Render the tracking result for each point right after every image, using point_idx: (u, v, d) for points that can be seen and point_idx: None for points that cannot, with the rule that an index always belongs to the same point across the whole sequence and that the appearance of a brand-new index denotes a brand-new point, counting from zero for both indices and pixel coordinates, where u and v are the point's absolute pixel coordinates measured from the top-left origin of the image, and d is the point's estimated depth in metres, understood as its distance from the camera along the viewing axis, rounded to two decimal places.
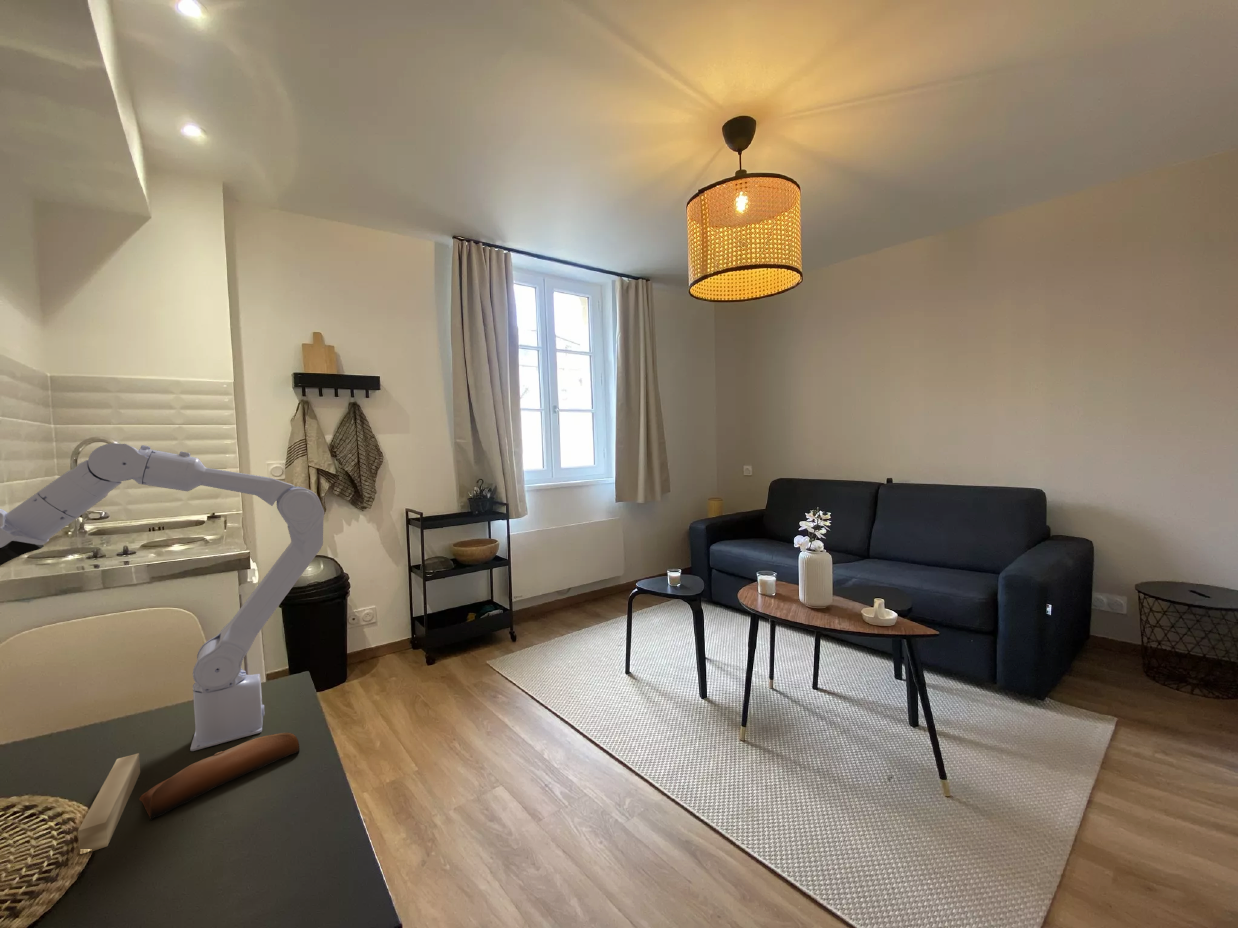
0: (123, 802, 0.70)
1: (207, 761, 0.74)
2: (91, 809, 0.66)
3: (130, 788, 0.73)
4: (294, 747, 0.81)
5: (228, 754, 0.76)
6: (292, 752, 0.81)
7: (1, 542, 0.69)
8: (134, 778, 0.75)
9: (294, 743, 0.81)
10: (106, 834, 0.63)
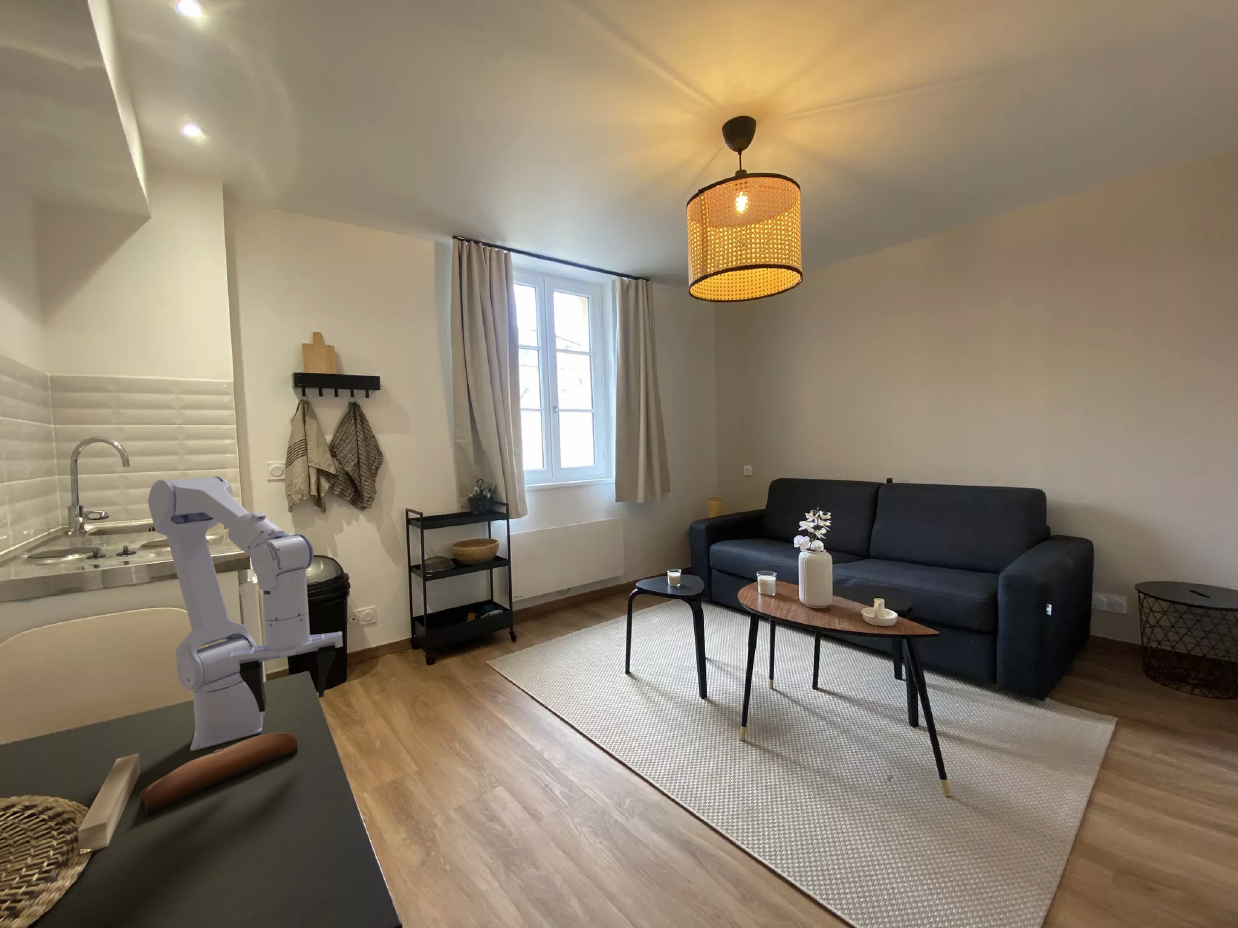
0: (123, 802, 0.70)
1: (205, 758, 0.75)
2: (91, 809, 0.66)
3: (130, 788, 0.73)
4: (292, 746, 0.81)
5: (226, 752, 0.76)
6: (290, 751, 0.81)
7: None
8: (134, 778, 0.75)
9: (292, 742, 0.81)
10: (106, 834, 0.63)
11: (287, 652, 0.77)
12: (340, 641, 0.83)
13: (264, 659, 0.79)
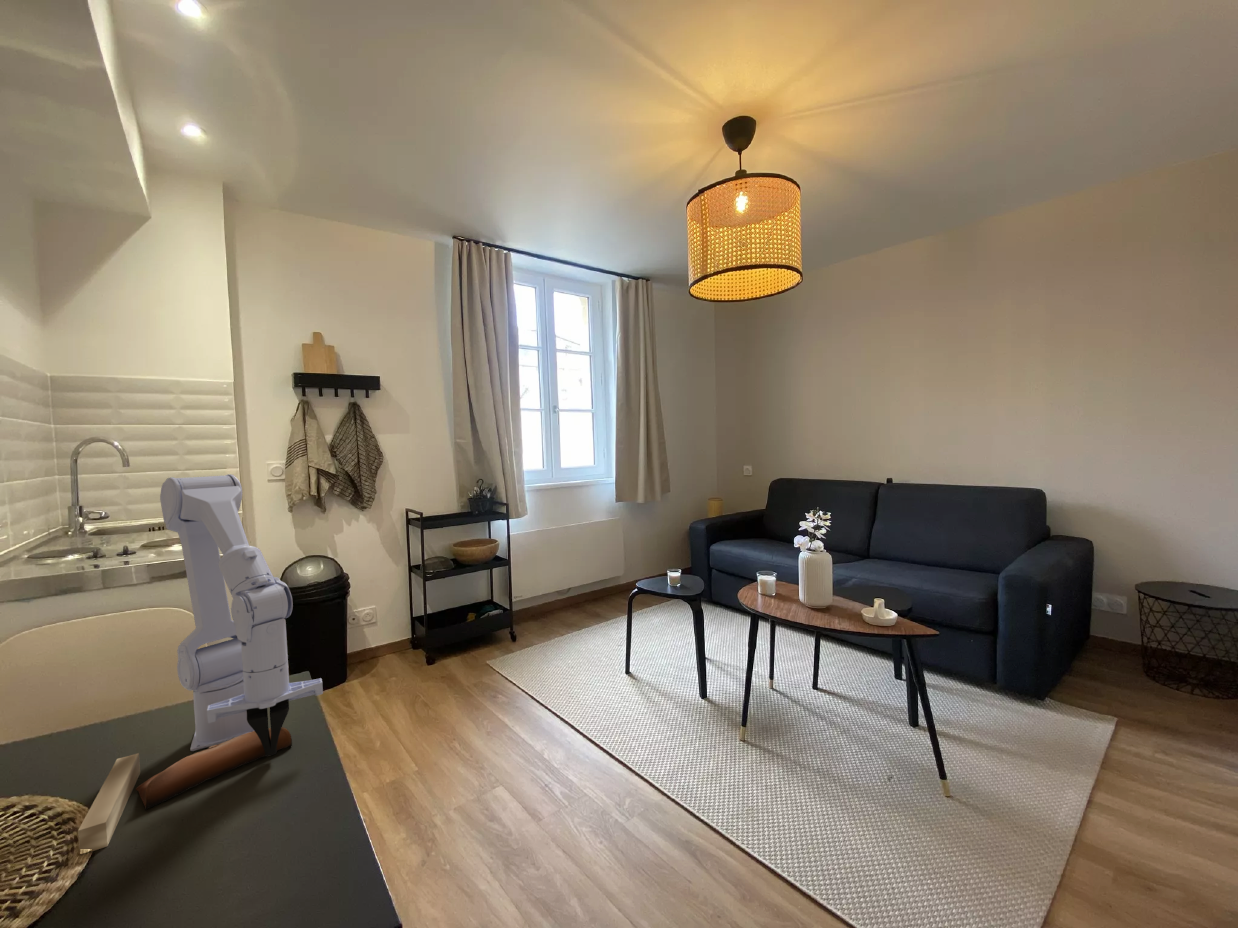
0: (123, 802, 0.70)
1: (201, 754, 0.76)
2: (91, 809, 0.66)
3: (130, 788, 0.73)
4: (286, 741, 0.83)
5: (222, 747, 0.78)
6: (285, 745, 0.83)
7: None
8: (134, 778, 0.75)
9: (287, 737, 0.83)
10: (106, 834, 0.63)
11: (267, 704, 0.76)
12: (320, 689, 0.83)
13: (242, 711, 0.78)
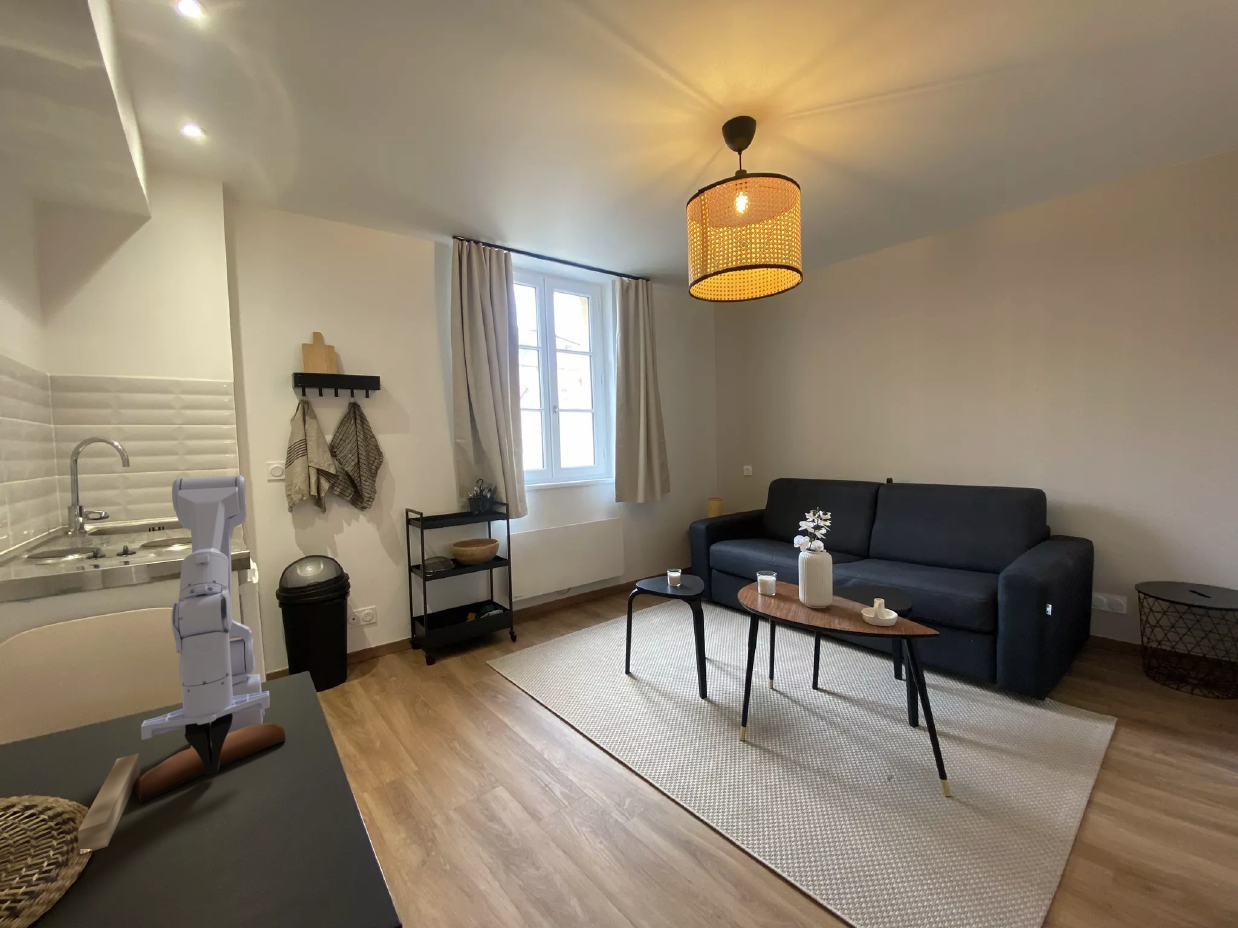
0: (123, 802, 0.70)
1: None
2: (91, 809, 0.66)
3: (130, 788, 0.73)
4: (280, 737, 0.84)
5: None
6: (278, 741, 0.84)
7: (269, 699, 0.80)
8: (134, 778, 0.75)
9: (280, 733, 0.84)
10: (106, 834, 0.63)
11: (206, 720, 0.72)
12: (267, 702, 0.79)
13: (181, 726, 0.74)
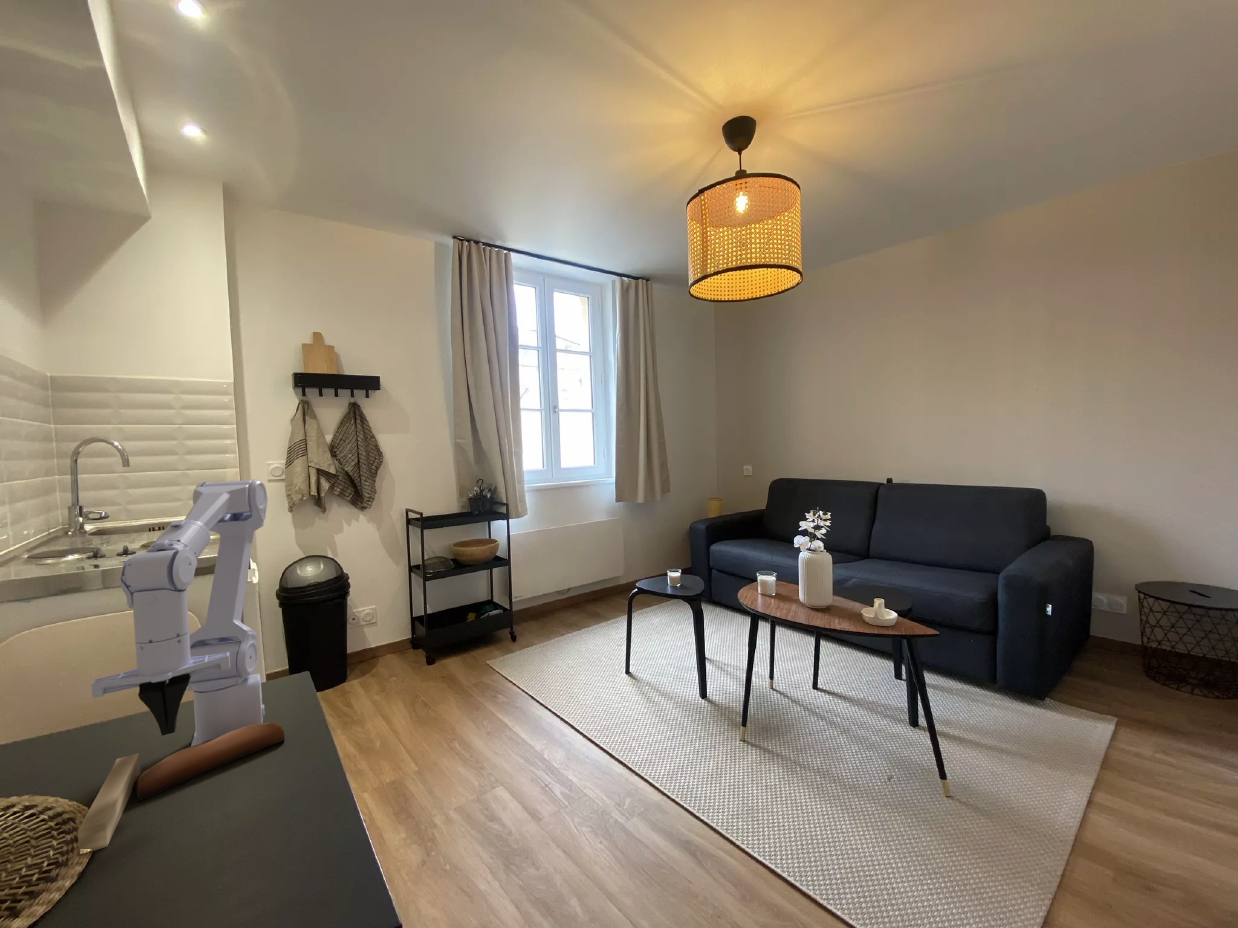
0: (123, 802, 0.70)
1: (195, 748, 0.78)
2: (91, 809, 0.66)
3: (130, 788, 0.73)
4: (279, 736, 0.84)
5: (215, 741, 0.80)
6: (277, 741, 0.84)
7: (230, 661, 0.78)
8: (134, 778, 0.75)
9: (279, 732, 0.84)
10: (106, 834, 0.63)
11: (161, 678, 0.70)
12: (226, 663, 0.76)
13: (134, 685, 0.71)
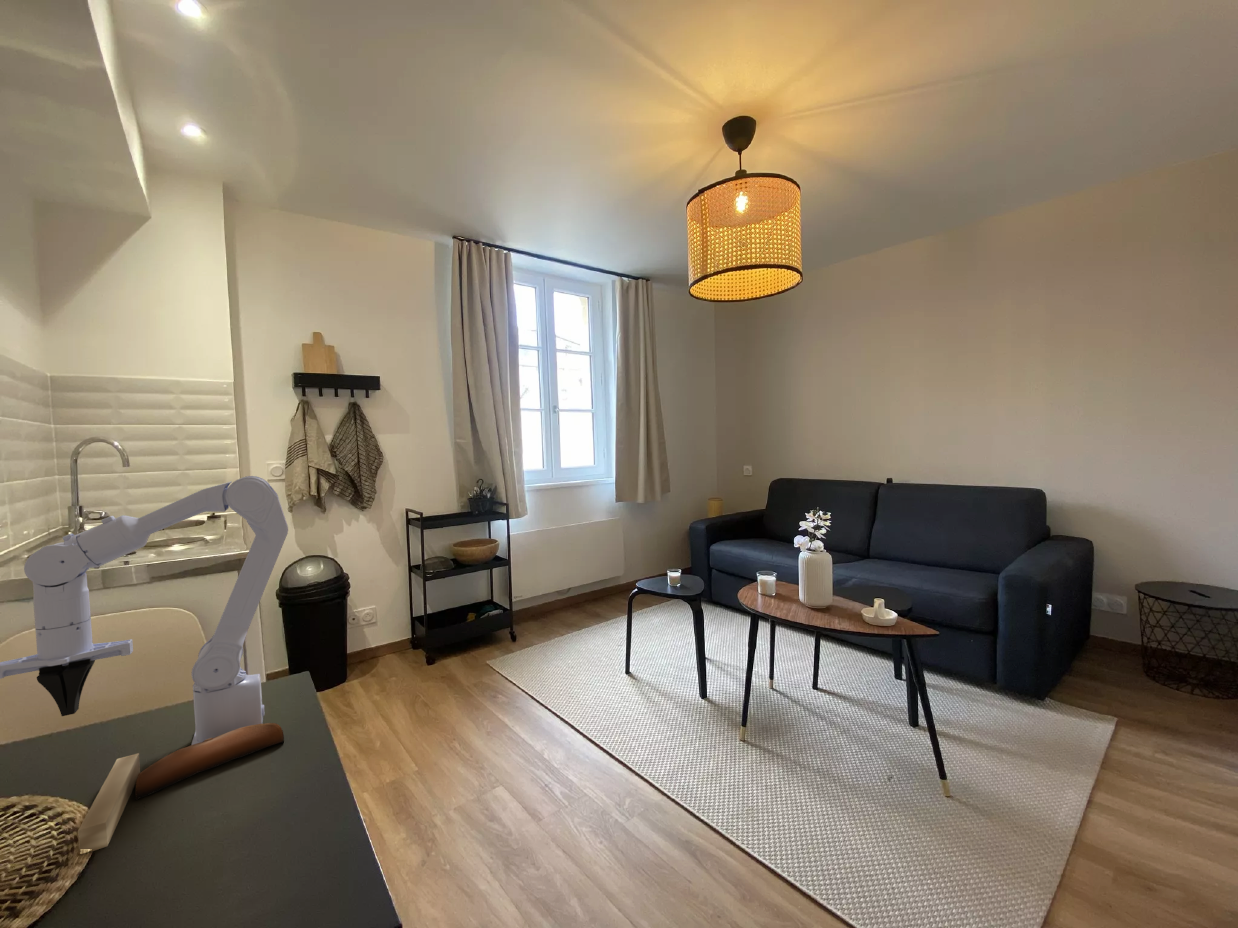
0: (123, 802, 0.70)
1: (194, 747, 0.78)
2: (91, 809, 0.66)
3: (130, 788, 0.73)
4: (278, 737, 0.84)
5: (214, 741, 0.80)
6: (277, 741, 0.84)
7: (132, 647, 0.83)
8: (134, 778, 0.75)
9: (278, 733, 0.84)
10: (106, 834, 0.63)
11: (57, 662, 0.75)
12: (127, 649, 0.81)
13: (35, 669, 0.76)
